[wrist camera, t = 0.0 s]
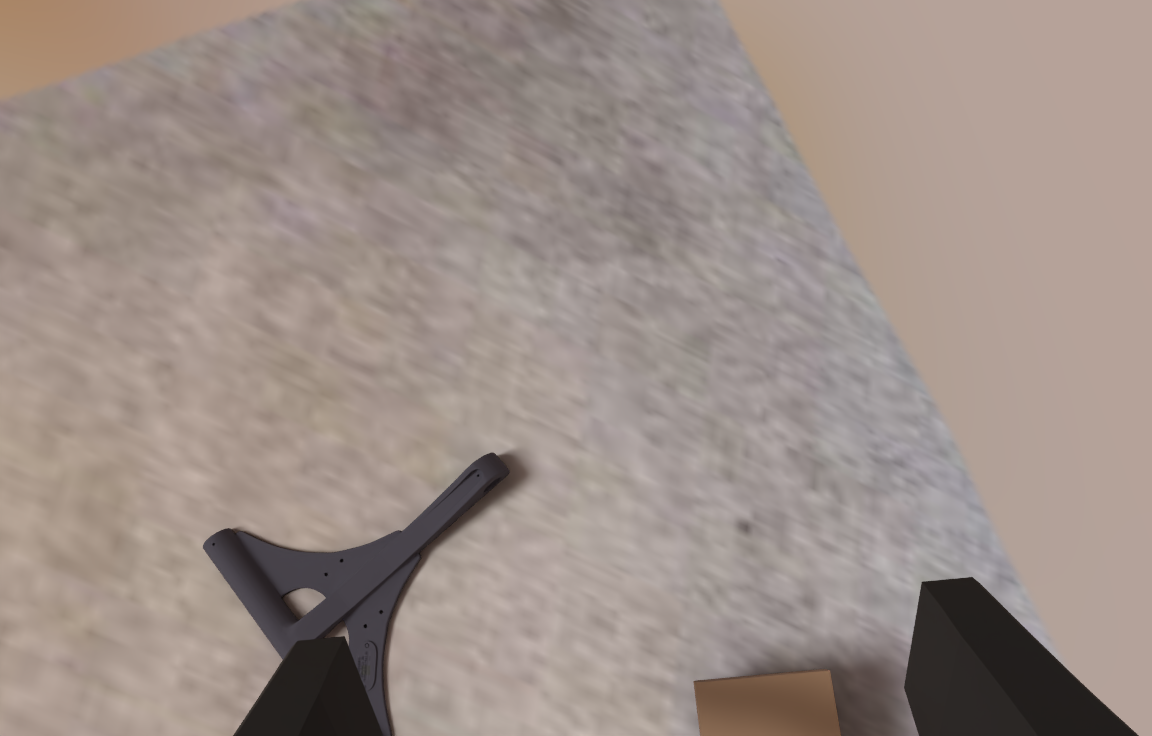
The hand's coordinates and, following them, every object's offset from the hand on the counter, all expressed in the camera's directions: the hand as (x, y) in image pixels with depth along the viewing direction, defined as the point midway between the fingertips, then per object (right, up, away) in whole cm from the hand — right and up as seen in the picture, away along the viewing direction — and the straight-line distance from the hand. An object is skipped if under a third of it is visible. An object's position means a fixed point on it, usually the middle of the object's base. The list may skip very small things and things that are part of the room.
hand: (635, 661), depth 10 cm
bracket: (-10, -7, +33) cm, 36 cm away
